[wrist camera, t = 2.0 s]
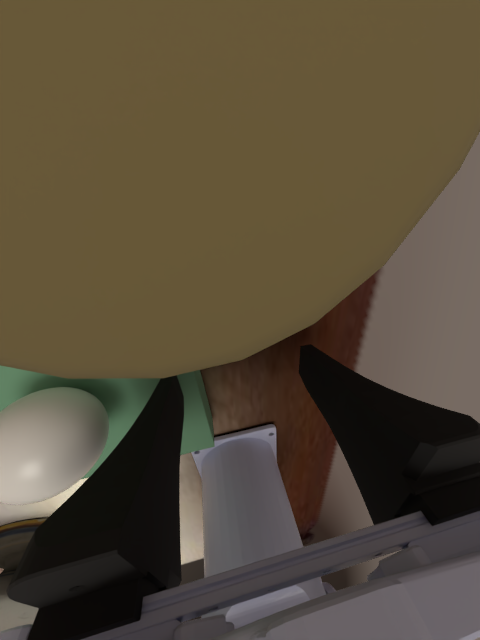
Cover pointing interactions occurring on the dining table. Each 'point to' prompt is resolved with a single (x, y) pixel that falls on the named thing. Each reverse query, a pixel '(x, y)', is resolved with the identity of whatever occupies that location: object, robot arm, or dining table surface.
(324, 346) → the dining table surface
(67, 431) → the egg
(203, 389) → the green
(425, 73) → the cork
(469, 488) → the robot arm
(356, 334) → the dining table surface
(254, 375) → the dining table surface
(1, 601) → the apothecary jar
